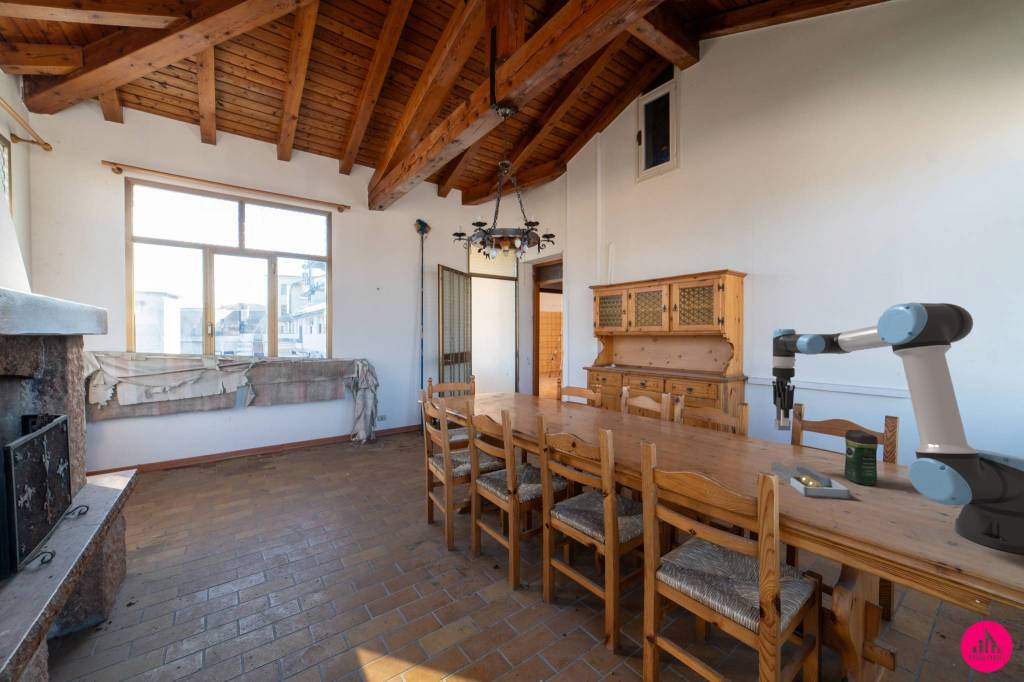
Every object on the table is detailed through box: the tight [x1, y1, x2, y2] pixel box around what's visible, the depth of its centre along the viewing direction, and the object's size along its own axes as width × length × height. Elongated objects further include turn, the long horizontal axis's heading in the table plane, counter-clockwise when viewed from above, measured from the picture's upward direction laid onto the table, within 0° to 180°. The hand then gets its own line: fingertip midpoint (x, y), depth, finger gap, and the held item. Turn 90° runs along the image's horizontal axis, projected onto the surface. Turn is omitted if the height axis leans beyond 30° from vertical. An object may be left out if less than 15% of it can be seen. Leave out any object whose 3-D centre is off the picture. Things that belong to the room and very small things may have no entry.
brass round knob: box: [799, 475, 812, 486], centre depth 141 cm, size 4×4×3 cm
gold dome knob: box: [805, 479, 824, 488], centre depth 138 cm, size 4×4×3 cm
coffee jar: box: [844, 429, 879, 486], centre depth 149 cm, size 10×8×19 cm
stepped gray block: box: [774, 397, 791, 432], centre depth 164 cm, size 3×4×13 cm
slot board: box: [771, 461, 832, 487], centre depth 151 cm, size 16×12×4 cm
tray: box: [790, 478, 851, 500], centre depth 139 cm, size 9×14×3 cm, turn 81°
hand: (782, 424), depth 164 cm, fingers closed on stepped gray block, 3 cm apart
